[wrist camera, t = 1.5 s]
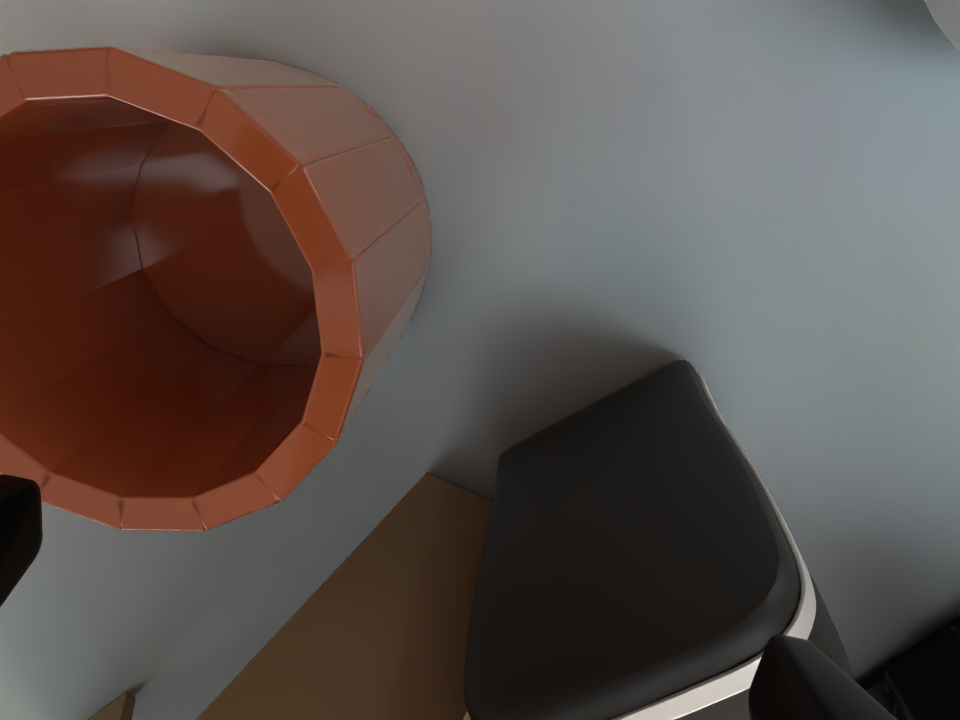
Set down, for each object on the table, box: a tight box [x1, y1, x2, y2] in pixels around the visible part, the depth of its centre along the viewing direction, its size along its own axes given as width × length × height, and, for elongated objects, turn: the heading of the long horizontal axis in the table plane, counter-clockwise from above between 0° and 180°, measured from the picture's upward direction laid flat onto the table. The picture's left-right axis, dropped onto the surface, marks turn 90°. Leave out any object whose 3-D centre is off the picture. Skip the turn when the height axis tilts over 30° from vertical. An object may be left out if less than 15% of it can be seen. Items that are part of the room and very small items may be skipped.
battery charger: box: [463, 360, 852, 720], centre depth 18 cm, size 7×4×11 cm, turn 123°
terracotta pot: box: [0, 46, 431, 531], centre depth 18 cm, size 9×9×8 cm
